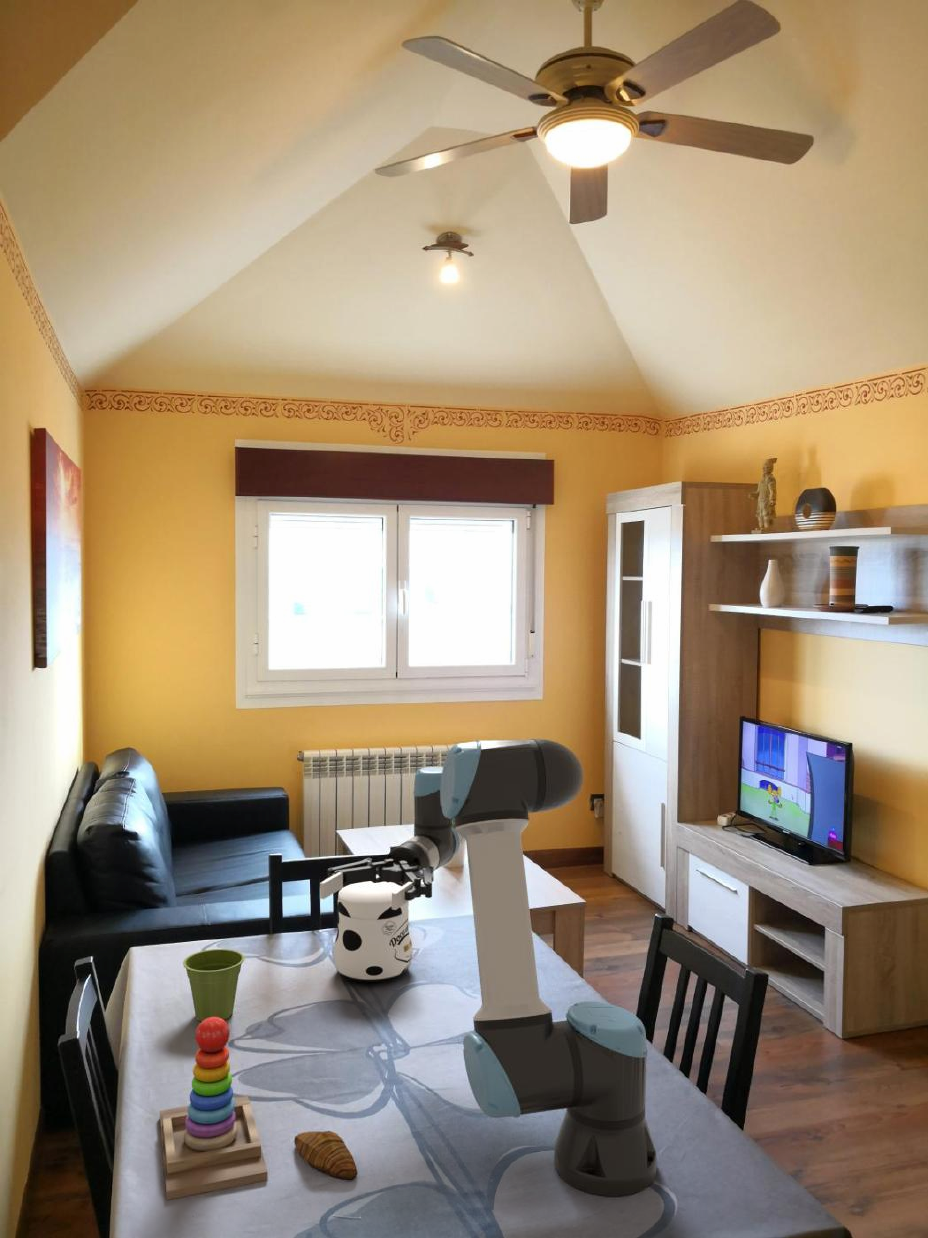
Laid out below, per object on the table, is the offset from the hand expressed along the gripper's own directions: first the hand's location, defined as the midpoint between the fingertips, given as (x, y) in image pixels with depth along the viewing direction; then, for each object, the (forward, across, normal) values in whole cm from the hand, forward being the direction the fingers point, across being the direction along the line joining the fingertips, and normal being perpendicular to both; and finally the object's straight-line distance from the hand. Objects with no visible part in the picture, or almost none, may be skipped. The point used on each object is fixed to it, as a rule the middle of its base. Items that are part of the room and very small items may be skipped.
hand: (357, 896), depth 165 cm
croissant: (+19, -5, -35) cm, 40 cm away
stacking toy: (+22, +13, -33) cm, 42 cm away
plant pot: (-15, +40, -34) cm, 55 cm away
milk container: (-46, +21, -34) cm, 61 cm away
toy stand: (+22, +13, -34) cm, 43 cm away
